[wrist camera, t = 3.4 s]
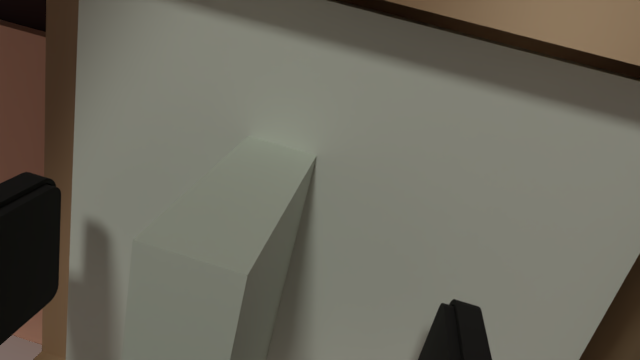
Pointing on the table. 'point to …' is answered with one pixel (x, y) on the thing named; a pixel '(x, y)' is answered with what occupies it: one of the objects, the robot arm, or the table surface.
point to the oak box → (413, 3)
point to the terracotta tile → (22, 117)
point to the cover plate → (338, 185)
